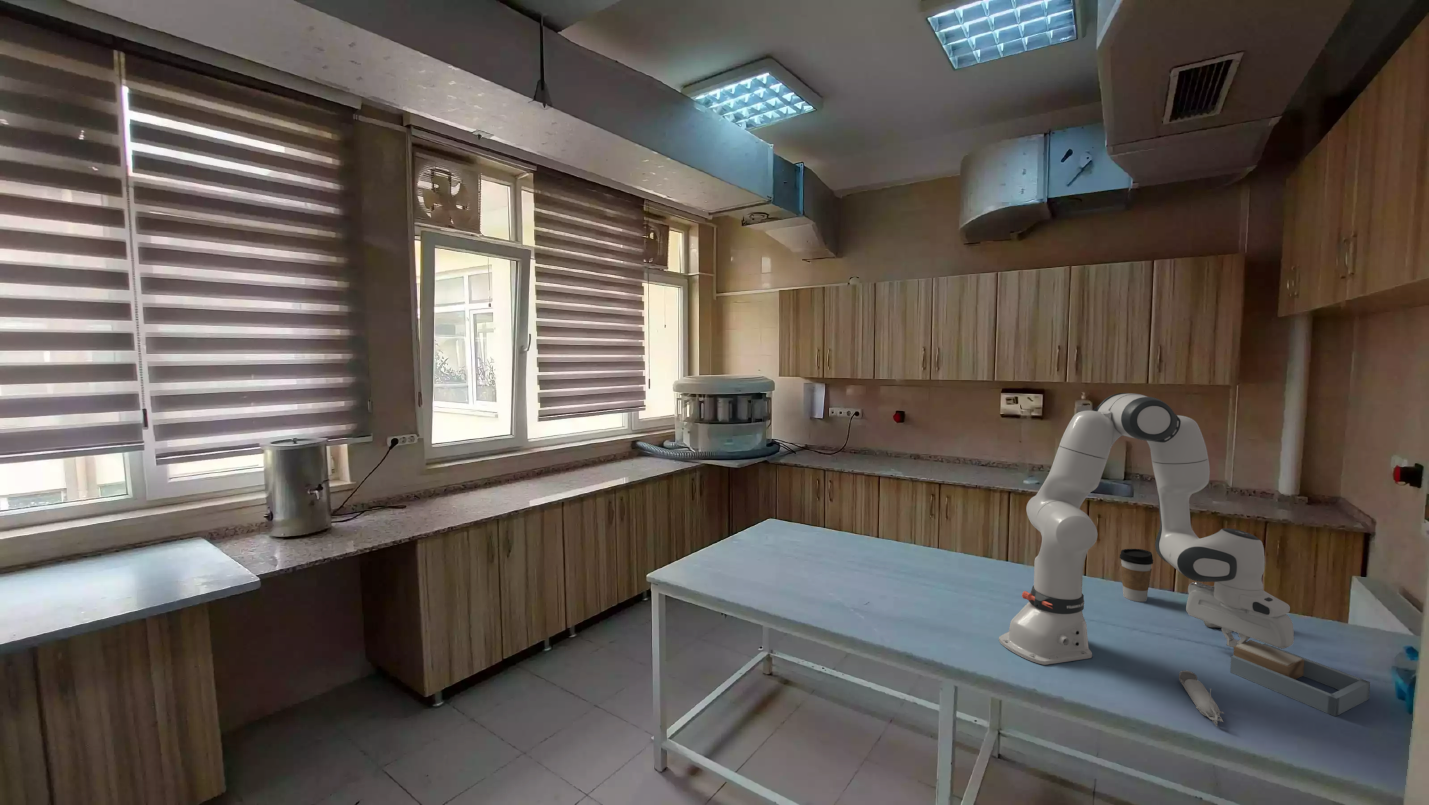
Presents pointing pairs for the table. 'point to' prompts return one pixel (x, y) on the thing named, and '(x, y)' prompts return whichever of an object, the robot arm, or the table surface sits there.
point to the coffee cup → (1136, 573)
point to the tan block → (1270, 658)
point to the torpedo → (1200, 696)
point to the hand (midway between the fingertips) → (1235, 647)
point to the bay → (1333, 704)
